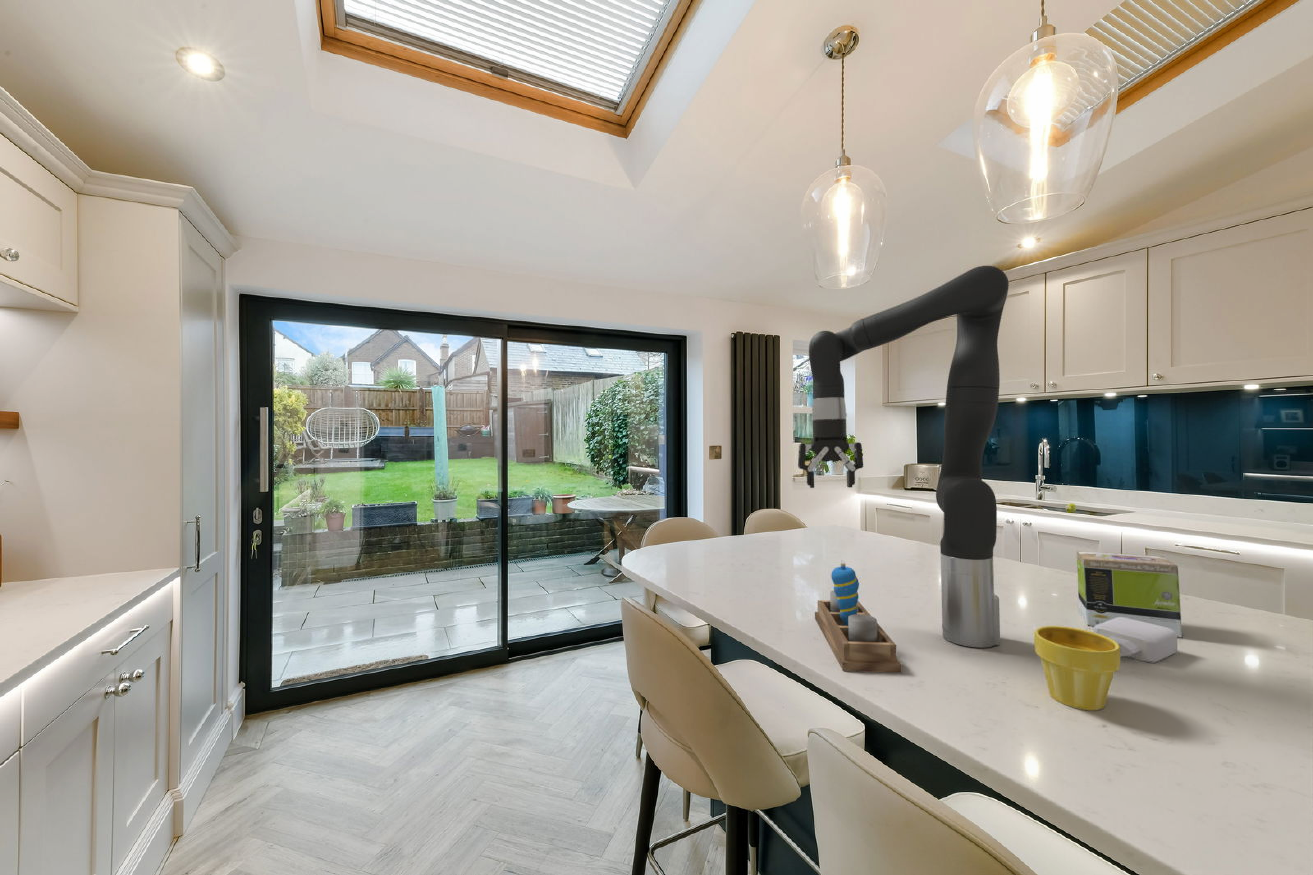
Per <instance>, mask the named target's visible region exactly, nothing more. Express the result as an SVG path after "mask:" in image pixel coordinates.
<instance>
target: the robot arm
mask: <svg viewBox="0 0 1313 875" xmlns="http://www.w3.org/2000/svg"><path fill="white" fill-rule="evenodd" d="M1009 284H1010V283H1009V279H1008V276H1007V274H1006V273H1005V272H1004V271H1003V270H1002V269H1001V268H999V267H997V266H995V265H994V266H993V265H980V266H976V267H973V268H972V269H970V270H969V269H968V270H967V271H965V272H964V273H961V274H959V275H957V276H956V277H954V278H953V279H950V280H949V281H946V282H945V283H943V284H942V285H939V286H938V287H936V288H934V289H932V290H930V291H928V292H926V293H923V294H921V295H918V296H916V297H914V298H913V299H910V300H908V301H905V302H903V303H899V304H898V305H896V306H893V307H891V308H890V307H889V308H888V309H885V310H882V311H879V312H877V313H874V314H871V315H869V316H866V317H864V318H861V319H859V320H856V321H855V322H853V323H852V324H851V326H850V327H848V328H845V329H843V330H841V331H838V332H835V333H834V332H833V331H830V330H822V331H818V332H817V333H815V334H814V335H813V336H812V337H811V339H810V341H809V344H808V359H809V366H810V371H811V372H810V373H811V375H812V407H811V408H812V409H811V419H812V420H811V421H812V424H811V425H812V442H811V444H808V443H806V444H805V443H799V444H798V456H797V457H798V458H797V459H798V461H797V468H798V469H799V470H803V471H805V472H806V473H805V474H806V484H807V486H809V488H810V489H814V488H815V472H814V470H815V468H816V467H817V465H819V463H820V462H825V463H826V462H827V463H828V462H839V461H840V462H841V463H842V464H843V466H844V467H845V468H846V469H847V470H846V487H847V488H853V486H855V484H856V475H855V474H856V471H857V470H859V469H863V468H864V458H863V447H862V443H861V442H854V443H852V442H850V443H849V442H848V439H847V436H848V435H847V414H848V413H847V408H846V400H845V380H844V376H843V374H842V372H841V362H843V361H846V360H847V359H850V358H852V357H854V356H857V355H858V354H860V353H862V352H864V351H866V350H867V351H868V350H871V349H873V348H877V347H880V346H884V345H885V344H888V343H889V344H890V343H891V342H894V341H896V340H899V339H901V338H904V337H905V336H907V335H909V334H911V333H913V332H914V331H916V330H918V329H920V328H923V327H925V326H926V325H929V324H930V323H933V322H937V321H939V320H942V319H945V318H947V317H952V316H955V315H956V344H955V348H954V349H955V350H954V353H953V356H952V360H951V363H950V368H949V372H948V376H947V377H948V378H947V384H946V393H945V403H944V404H945V406H944V431H943V432H944V433H943V440H944V441H943V442H944V443H943V456H942V462H941V466H940V473H939V476H938V480H937V481H938V482H937V486H936V491H935V499H936V503H937V505H938V508H939V509H940V510H941V511H942V512H943V535H942V538H941V539H940V543H939V546H940V548H939V549H940V580H941V581H940V584H941V585H940V588H941V590H940V591H941V622H942V623H941V628H942V632H941V633H942V637H943V638H944V639H945V640H947V641H948V642H951V643H953V644H956V645H960V646H964V647H969V648H982V649H983V648H984V649H985V648H991V647H994V646H1001V624H1000V623H1001V620H1000V618H1001V616H1000V598H999V596H998V595H996V594H995V580H994V578H995V577H994V575H995V573H994V572H995V571H994V548H995V546H996V543H997V526H998V525H997V524H998V522H997V520H998V519H997V518H998V512H997V509H998V508H997V498H996V495H995V492H994V490H993V489H992V487H991V486H990V485H989V484H988V483H986V481H983V476H982V474H983V473H982V472H983V456H984V452H985V448H986V444H987V442H988V440H989V437H990V434H991V432H992V430H993V426H994V424H995V420H996V417H997V414H998V407H999V397H1000V383H1001V382H1000V381H1001V380H1000V360H999V352H998V337H999V330H1000V326H1001V321H1002V316H1003V311H1004V307H1005V304H1006V300H1007V299H1008V298H1007V297H1008V293H1009ZM849 449H850V451H851V452H852V453H853V455H854V457H853V458H854V463H852V462H851V461H850V459H849V458H848V456H847V455H846V453H847V451H848V450H849ZM810 450H812V452H813V453H814V456H813V457H812V459H810V462H809V463H808V464H807V465H806V454H807V453H809V452H810Z"/></svg>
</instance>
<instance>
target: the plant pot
mask: <svg viewBox="0 0 1313 875" xmlns="http://www.w3.org/2000/svg"><path fill="white" fill-rule="evenodd" d="M1033 639H1034V641H1033V642H1034V650H1035V653H1036V655H1037V656H1038V657H1039V658H1040V661H1041V664H1042V669H1043V673H1044V677H1045V680H1046V684H1047V689H1048V692H1049V693H1048V694H1049V695H1050V697H1052V698H1053V699H1054V700H1055V701H1056V702H1059V703H1061V704H1063V705H1065V706H1068V707H1071V708H1074V709H1078V710H1083V711H1099V710H1102V709H1104V707H1105V705H1106V701H1107V697H1108V694H1109V691H1110V687H1111V683H1112V680H1113V677H1114V673H1116V672H1118V671H1119V669H1120V668H1121V656H1120V646H1119V645H1118V643H1117V642H1115V641H1114V640H1112V639H1110V638H1108V637H1106V636H1103V635H1100V634H1098V633H1094V631H1091V630H1087V629H1083V628H1082V629H1081V628H1078V627H1077V628H1075V627H1070V626H1064V625H1063V626H1062V625H1044V626H1040V627H1038V628H1036V629H1035V630H1034V638H1033Z"/></svg>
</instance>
